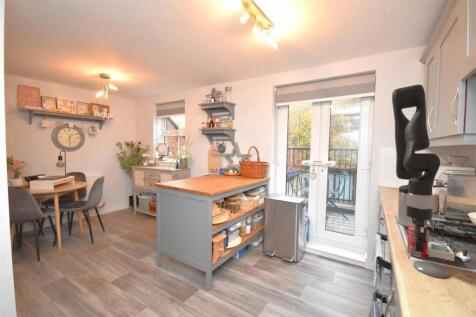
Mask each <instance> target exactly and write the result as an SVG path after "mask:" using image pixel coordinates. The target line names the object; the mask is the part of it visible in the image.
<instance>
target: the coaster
mask: <svg viewBox="0 0 476 317" xmlns="http://www.w3.org/2000/svg"><path fill="white" fill-rule="evenodd" d="M412 264H413V265H412V266H413V268H414V269H415V270H416V271H418V272H419V273H421V274H424V275H427V276H429V277H432V278H438V279H446V278H449V274H450V273H449V271H448V270H447V269H446V268H444V267H443V266H441V265H438V264H435V263H432V262H429V261H423V260H418V261H414V262H413V263H412Z"/></svg>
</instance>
